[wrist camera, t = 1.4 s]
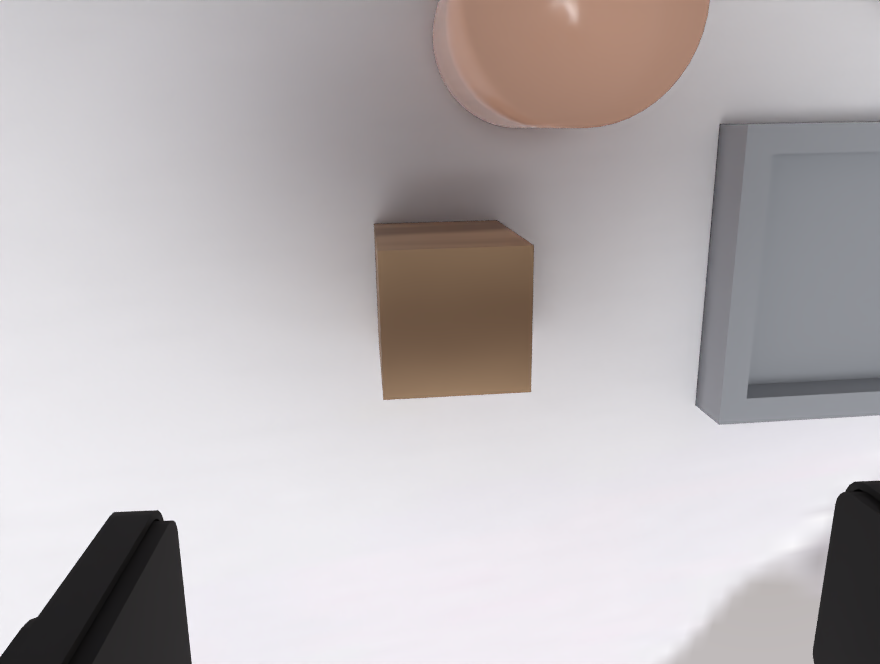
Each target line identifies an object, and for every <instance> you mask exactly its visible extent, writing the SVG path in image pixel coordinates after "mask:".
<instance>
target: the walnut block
mask: <svg viewBox="0 0 880 664" xmlns="http://www.w3.org/2000/svg"><path fill="white" fill-rule="evenodd" d="M374 236H375V260H376V284H377V308H378V332H379V350H380V362H381V375H382V388H383V400H390V399H409V398H427V397H446V396H465V395H483V394H502V393H521V392H531V365H532V313H533V262H534V245H532V244H531V243H529V242H528V241H526V240H525V239H524V238H522V237H521V236H519V235H518V234H516V233H515V232H513V231H512V230H510V229H509V228H507V227H506V226H504V225H503V224H502V223H500V222H499V221H497V220H486V221H453V222H420V223H386V224H374Z"/></svg>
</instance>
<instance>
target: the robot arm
mask: <svg viewBox="0 0 880 664" xmlns="http://www.w3.org/2000/svg"><path fill="white" fill-rule="evenodd" d="M813 659H814V664H880V481H862V482H854V483H852V484H850V485H849V487H848V488H847V489H846V492H843V493H841V494H840V495H839V496H838V498H837V501H836V504H835V511H834V517H833V524H832V530H831V537H830V543H829V550H828V556H827V562H826V569H825V575H824V582H823V588H822V595H821V601H820V608H819V614H818V621H817V628H816V634H815V641H814V646H813ZM0 664H192V662H191V653H190V643H189V634H188V624H187V615H186V605H185V596H184V586H183V577H182V567H181V558H180V548H179V539H178V531H177V526H176V523H175V522H174V521H163V517H162V515H161V513H160V512H159V511H158V510H156V511H131V512H114V513H113V514H112V515H111V516H110V517H109V518H108V520H107V521H106V522H105V524H104V525H103V526H102V528H101V529H100V531H99V532H98V533H97V535H96V536H95V538H94V539H93V540H92V542H91V543H90V545H89V546H88V547H87V549H86V550H85V552H84V553H83V554H82V556H81V557H80V559H79V560H78V561H77V563H76V564H75V566H74V567H73V568H72V570H71V571H70V573H69V574H68V575H67V577H66V578H65V580H64V581H63V582H62V584H61V585H60V586H59V588H58V589H57V591H56V592H55V593H54V595H53V596H52V598H51V599H50V600H49V602H48V603H47V605H46V606H45V607H44V609H43V610H42V612H41V613H40V614H39V616H38V617H36V618H34V619H31V620H29V621H28V622H27V623H26V624H25V625H24V626H23V627H22V628H21V630H20V631H19V632H18V634H17V635H16V636H15V638H14V639H13V640H12V642H11V643H10V645H9V646H8V647H7V649H6V650H5V651H4V653H3V654H2V655H1V657H0Z"/></svg>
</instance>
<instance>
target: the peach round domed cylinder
mask: <svg viewBox="0 0 880 664" xmlns="http://www.w3.org/2000/svg"><path fill="white" fill-rule="evenodd" d="M709 2H710V0H439V2H438V5H437V8H436V12H435V17H434V23H433V50H434V55H435V60H436V64H437V67H438V70H439V73H440V75H441V77H442V79H443V82H444V84H445V85H446V87H447V88H448V90H449V92H450V93H451V95H452V96H453V97H454V98H455V99H456V100H457V102H458V103H459V104H460V105H461V106H463V107H464V108H465V109H466V110H467V111H468V112H470V113H471V114H473V115H474V116H476V117H477V118H479V119H481V120H483V121H485V122H488V123H491V124H494V125H497V126H502V127H508V128H591V127H601V126H605V125H610V124H614V123H617V122H620V121H622V120H625V119H628V118H630V117H632V116H634V115H636V114H638V113H639V112H641V111H643V110H645V109H646V108H648V107H649V106H650V105H652V104H653V103H655V102H656V101H657V100H658V99H660V98H661V97H662V96H663V95H664V94H665V93H666V92H667V91H668V90H669V89H670V88H671V87H672V86H673V85H674V83H675V82H676V81H677V80H678V79H679V78H680V76H681V75H682V73H683V72H684V70H685V69H686V67H687V66H688V64H689V63H690V61H691V59H692V57H693V55H694V53H695V51H696V49H697V47H698V44H699V42H700V39H701V37H702V34H703V31H704V27H705V23H706V19H707V16H708V9H709Z"/></svg>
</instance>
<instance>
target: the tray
mask: <svg viewBox="0 0 880 664" xmlns="http://www.w3.org/2000/svg"><path fill="white" fill-rule="evenodd" d="M696 406H697V407H698V408H700V409H701V410H702V411H703V412H704V413H706V414H707V415H708V416H709V417H710V418H712V419H713V420H714V421H715V422H716V423H718V424H719V425H720V424H737V423H754V422H771V421H788V420H805V419H822V418H839V417H856V416H873V415H880V122H829V123H773V124H720V132H719V143H718V155H717V166H716V177H715V189H714V200H713V212H712V223H711V235H710V246H709V257H708V269H707V280H706V292H705V303H704V315H703V326H702V338H701V349H700V360H699V372H698V383H697V395H696Z"/></svg>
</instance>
